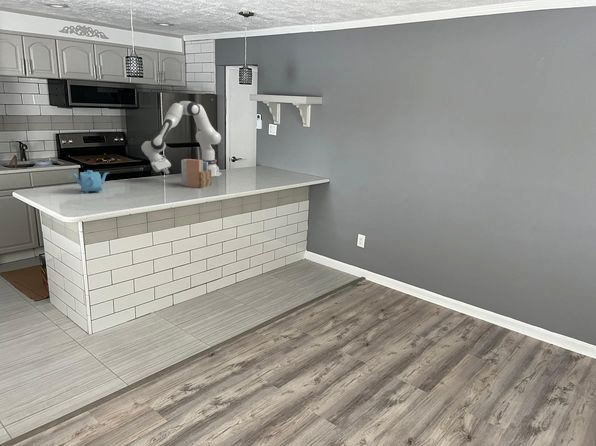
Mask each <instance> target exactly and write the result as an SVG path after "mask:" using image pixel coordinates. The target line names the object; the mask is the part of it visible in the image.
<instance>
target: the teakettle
mask: <svg viewBox="0 0 596 446" xmlns="http://www.w3.org/2000/svg"><path fill="white" fill-rule="evenodd" d="M108 174H109V172H104V173H103V174H101V173H100V172H99V171H93V170H92V169H91V170H90V169H87V170H86V171H85V172H83V171H82V172H81V171H80V173H79V176H78V175H77V174H76V173H70V175H72V176H73V177H74V179H75V181H76V183H77V184H78V185H79V186H80V189H81V190H82V192H83V194H89V192H95V193H97V194H98V193H101V192H100V191H103V190H102V185H103V184H104V183H105V180H106V176H107V175H108ZM101 175H102V176H101ZM79 177H80V179H79Z"/></svg>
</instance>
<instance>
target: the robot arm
mask: <svg viewBox="0 0 596 446" xmlns="http://www.w3.org/2000/svg"><path fill="white" fill-rule="evenodd" d="M183 115H186V116H191V117H192V116H193V119H194V122H195V124H196V127H197V129H198V130H199V131H197V132H196V133H195V140H196V141H197V142H198V143H199V145H200V146H199V147H200V149H201V160H203V162H208V167H209V169H211V178H212V177H220V176H221V175H222V172H220V167H219V166H218V165H217V159H215V158H216V156H215V155H216V153H215V150H214V148H213V147H212V145H219V144H220V143H221V140H222V135H221V134H220V133H219V132H218V131H217V130H215V128H214V127H213V126H212V124H211V122H210V120H209V117H208V115H207V113H206V110H205V108H204V107H203V105H202V104H200V103H196V102H194V101H190V100H180V101H178V102H174V103H173V104H171V106H170V107H169V109H168V110H167V113H166V114H165V117H164V119H163V123H162V125H161V127H160V129H159V130H158V132H157V133H156V135H154V136H153V137H152V138H151V140H146V141H144V142H143V143H142V144H141V146H140V147H141V151H142V153H144V155H145V157H147V158H148V159H149V162H150V165H151V167H152V169H153V171H154V172H155V173H159V172H161V171H162V172H163V173H165V175H168V174H170V171H169V168H171V167H172V164H171V162H170V161H169V160H168V159H167V158H166V155H163V154H160V153H161V152H163V151H165V149H166V147H167V144H166V142H165V138H166V137H167V135H168V133H169V131H171V129H172V128H175V127H176V126H178V125H179V122H180V121H181V119H182V117H183Z"/></svg>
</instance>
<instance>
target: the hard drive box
mask: <svg viewBox="0 0 596 446" xmlns="http://www.w3.org/2000/svg"><path fill="white" fill-rule="evenodd" d="M187 159H188V158H184V159H181V161H180V162H181V163H180V166H181V167H180V169H181V171H180V172H181V185H182V186H186V187H187ZM200 160H201V172H202V171H203V160H202V159H200Z"/></svg>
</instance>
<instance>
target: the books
mask: <svg viewBox="0 0 596 446" xmlns="http://www.w3.org/2000/svg"><path fill="white" fill-rule="evenodd" d="M186 159H187V186H186V187H187V188H197V189H198V188H199V172H201V160H202V159H194V158H193V159H192V158H186ZM205 170H208V162H203V171H205ZM199 189H200V188H199Z"/></svg>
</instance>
